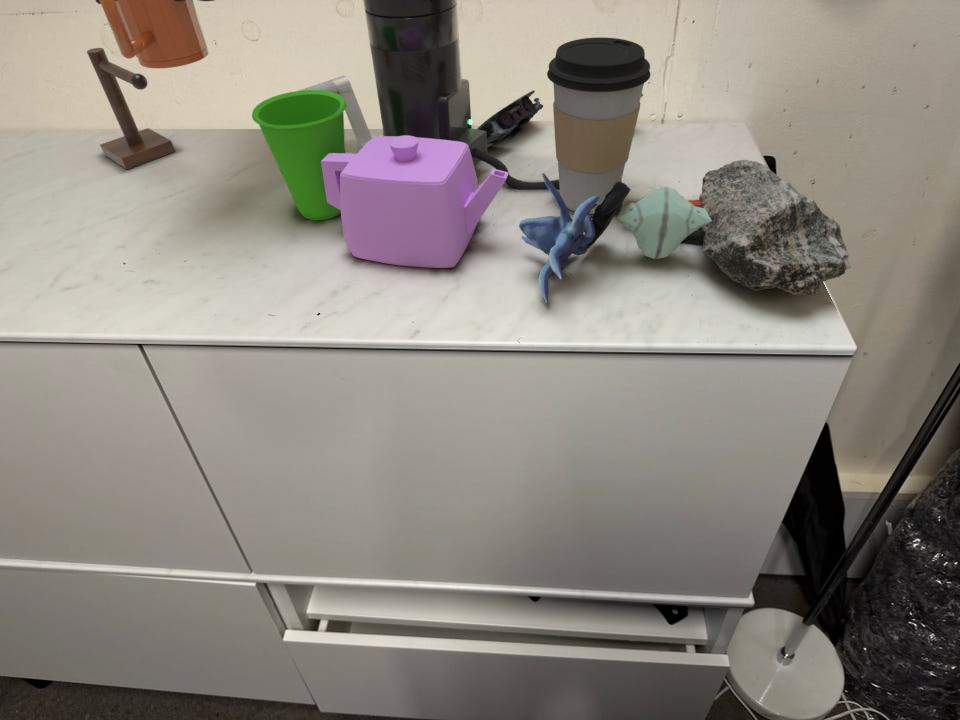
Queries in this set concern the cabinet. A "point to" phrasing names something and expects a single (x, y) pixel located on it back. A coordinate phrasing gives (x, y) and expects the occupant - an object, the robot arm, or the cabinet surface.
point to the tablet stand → (348, 106)
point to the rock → (768, 231)
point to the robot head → (662, 221)
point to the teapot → (409, 199)
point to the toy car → (510, 119)
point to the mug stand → (126, 117)
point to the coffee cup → (595, 113)
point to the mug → (157, 31)
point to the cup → (304, 143)
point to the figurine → (570, 229)
